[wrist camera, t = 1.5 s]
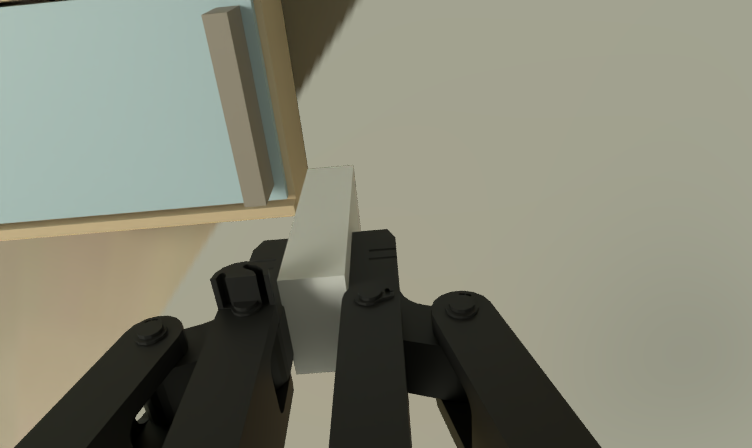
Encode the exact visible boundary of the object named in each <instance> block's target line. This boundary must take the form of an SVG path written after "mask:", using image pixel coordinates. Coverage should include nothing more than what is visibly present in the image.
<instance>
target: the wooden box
mask: <svg viewBox="0 0 752 448" xmlns="http://www.w3.org/2000/svg"><path fill="white" fill-rule="evenodd" d="M53 1H63V0H0V7H3V6H13V5H23V4H33V3H43V2H53ZM253 3H254V9H255V14H256V20H257V25H258V31H259V36H260V42H261V47H262V53H263V58H264V64H265V69H266V74H267V80H268V85H269V91H270V96H271V102H272V107H273V113H274V118H275V124H276V129H277V135H278V140H279V146H280V151H281V157H282V162H283V167H284V173H285V178H286V184H287V189H288V198H287V199H282V200H271V201H268V203H267V205H266V206H256V207H245V206H244V203H236V204H224V205H213V206H201V207H189V208H178V209H166V210H155V211H143V212H131V213H120V214H108V215H97V216H85V217H73V218H62V219H50V220H39V221H27V222H15V223H4V224H0V241H6V240H18V239H30V238H42V237H53V236H65V235H77V234H89V233H100V232H112V231H124V230H136V229H147V228H159V227H171V226H183V225H195V224H206V223H218V222H230V221H242V220H253V219H265V218H276V217H289V216H295V213H296V209H297V206H298V202H299V199H300V195H301V191H302V188H303V184H304V180H305V177H306V173H307V170H308V166H307V160H306V153H305V148H304V141H303V134H302V128H301V122H300V116H299V110H298V103H297V97H296V91H295V85H294V78H293V72H292V66H291V60H290V53H289V47H288V41H287V35H286V28H285V22H284V16H283V10H282V4H281V0H253Z"/></svg>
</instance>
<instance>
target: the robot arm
mask: <svg viewBox="0 0 752 448" xmlns="http://www.w3.org/2000/svg"><path fill="white" fill-rule="evenodd" d="M210 281H211V284H212V288H213V292H214V295H215V299H216V302H217V306H218V312H217V314H216V316H215V319H214V320H212V321H210V322H207V323H204V324H201V325H197V326H194V327H190V328H187V329H184V328H183V325H182V323H181V322H180V320H178V319H177V318H175V317H171V316H157V317H152V318H149V319H146V320H144V321H142V322H140V323H138V324H136V325H134V326H133V327H131V328H130V329H129V330H128V331H126V332H125V333H124V334H123V335H122V336H121V337H120V338H119V340H118V341H117V342H116V343H115V344H114V345H113V346H112V347H111V348H110V349H109V350H108V351H107V352H106V353H105V354H104V355H103V356H102V357H101V358H100V359H99V360H98V361H97V362H96V363H95V364H94V365H93V366H92V367H91V369H90V370H89V371H88V372H87V373H86V374H85V375H84V376H83V377H82V378H81V379H80V380H79V381H78V382H77V383H76V384H75V385H74V386H73V387H72V388H71V389H70V390H69V391H68V392H67V393H66V394H65V395H64V396H63V398H62V399H61V400H60V401H59V402H58V403H57V404H56V405H55V406H54V407H53V408H52V409H51V410H50V411H49V412H48V413H47V414H46V415H45V416H44V417H43V418H42V419H41V420H40V421H39V422H38V423H37V424H36V425H35V427H34V428H33V429H32V430H31V431H30V432H29V433H28V434H27V435H26V436H25V437H24V438H23V439H22V440H21V441H20V442H19V443H18V444H17V445H16V446H15V447H14V448H284V445H285V439H286V433H287V427H288V421H289V414H290V409H291V403H292V397H293V391H294V389H293V381H292V377H291V367H292V361H294V366H295V370H296V374H309V373H322V372H335V383H334V395H333V406H332V418H331V429H330V440H329V448H412V441H411V428H410V415H409V399H408V393H412V394H417V395H422V396H427V397H433V398H436V401H437V405H438V408H439V410H440V412H441V414H442V417H443V419H444V421H445V423H446V425H447V427H448V429H449V431H450V434H451V436H452V438H453V440H454V442H455V444H456V446H457V448H601V446H600V445H599V444H598V443H597V441H596V440H595V439H594V437H593V436H592V435H591V434H590V432H589V431H588V429H587V428H586V427H585V425H584V424H583V423H582V422H581V420H580V419H579V418H578V416H577V415H576V414H575V412H574V411H573V410H572V408H571V407H570V406H569V404H568V403H567V402H566V400H565V399H564V398H563V397H562V395H561V394H560V393H559V391H558V390H557V389H556V387H555V386H554V385H553V383H552V382H551V381H550V380H549V378H548V377H547V376H546V374H545V373H544V372H543V370H542V369H541V368H540V366H539V365H538V364H537V363H536V361H535V360H534V359H533V357H532V356H531V354H530V353H529V352H528V351H527V349H526V348H525V347H524V345H523V344H522V343H521V341H520V340H519V339H518V337H517V336H516V335H515V333H514V332H513V331H512V330H511V328H510V327H509V326H508V324H507V323H506V322H505V320H504V319H503V318H502V317H501V315H500V314H499V312H498V311H497V310H496V309H495V307H494V306H493V305H492V304H491V302H490V301H489V300H488V299H486V298H485V297H484V296H482V295H479V294H477V293H474V292H468V291H455V292H449V293H446V294H444V295H441V296H440V297H438V298H437V299H436V300H435V301H434V302H433V305H432V306H428V305H422V304H417V303H414V302H412V301H410V300H408V299H407V298H405V297H404V296H403V295H402V293H401V292H400V288H399V276H398V265H397V253H396V242H395V237H394V236H393V235H392V234H391V233H390V232H389V231H388V230H387V229H384V230H372V231H361V227H360V219H359V209H358V200H357V192H356V184H355V176H354V168H353V165H348V166H336V167H325V168H313V169H308V170H307V173H306V177H305V180H304V184H303V188H302V191H301V195H300V199H299V202H298V206H297V209H296V213H295V217H294V221H293V224H292V228H291V231H290V235H289V238H288V239H279V240H267V241H263V242H262V243H261V244H260V245H259V246H258V247H257V248H256V249H254V250H253V253H252V255H251V258H250V261H249V262H247V261H245V262H240V263H234V264H231V265H229V266H226V267H224V268H222V269H221V270H219V271H218V272H216V273H215V274H214V275H213V277H212V278H211V279H210ZM143 406H144V408H145V410H146V412H145V413H144V415H143V416H142V417H141V418H140V419H139V420H138V421H136V419H135V417H136V415H137V414H138V412H139V411H140V410H141V409H142V407H143Z"/></svg>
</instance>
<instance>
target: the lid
mask: <svg viewBox="0 0 752 448" xmlns="http://www.w3.org/2000/svg"><path fill="white" fill-rule="evenodd" d="M287 198H288V189H287V184H286V178H285V173H284V167H283V162H282V157H281V151H280V146H279V140H278V135H277V129H276V124H275V118H274V113H273V107H272V102H271V96H270V91H269V85H268V80H267V74H266V69H265V64H264V58H263V53H262V47H261V42H260V36H259V31H258V25H257V20H256V14H255V9H254V3H253V0H63V1H53V2H43V3H33V4H23V5H13V6H3V7H0V224H4V223H15V222H27V221H39V220H50V219H62V218H73V217H85V216H97V215H108V214H120V213H131V212H143V211H155V210H166V209H178V208H189V207H201V206H213V205H224V204H236V203H244V206H245V207H256V206H266V205H267V203H268V201H271V200H282V199H287Z"/></svg>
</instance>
